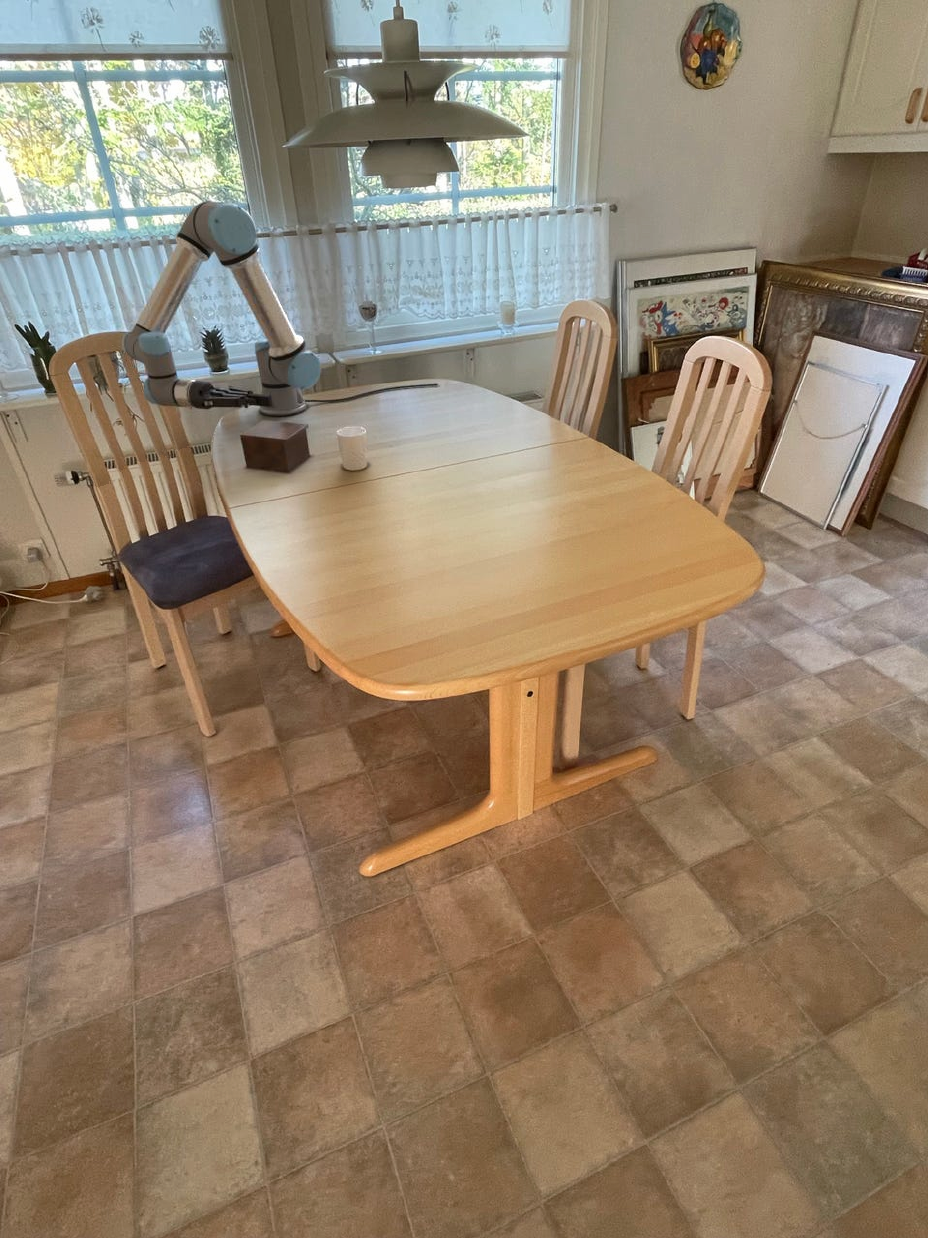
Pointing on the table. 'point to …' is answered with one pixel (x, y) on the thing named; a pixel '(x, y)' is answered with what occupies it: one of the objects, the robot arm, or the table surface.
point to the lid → (274, 431)
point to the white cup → (353, 447)
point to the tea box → (276, 453)
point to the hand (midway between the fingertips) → (270, 400)
